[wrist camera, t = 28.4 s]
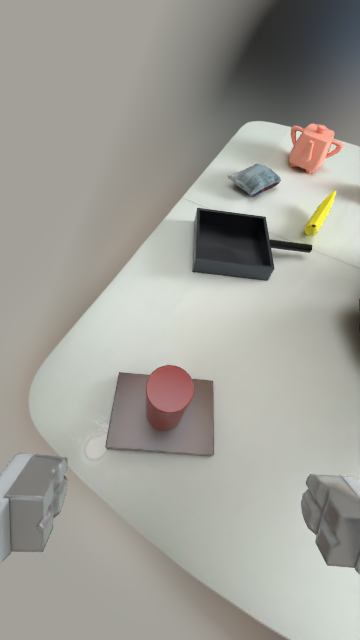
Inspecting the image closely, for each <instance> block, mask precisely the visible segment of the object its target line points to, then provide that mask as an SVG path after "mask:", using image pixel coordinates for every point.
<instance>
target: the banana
mask: <svg viewBox="0 0 360 640" xmlns="http://www.w3.org/2000/svg"><path fill="white" fill-rule="evenodd" d="M335 194H336V191H334V192H332V193H331V194H330V195H329V196H328V197H327V198H326V199H325V200H324V201H323V202H322V203H321V204H320V205H319V207H318V208H317V210H316V211H315V213H314V214H313V216H312V218H311V219H310V221H309V222H308V224H307V225H306V227H305V231H304V232H305V233H306V234H307V235H311V236H313V235H315V234H316V233H317V232H318V230H319V229H320V227H321V225H322V224H323V222H324V220H325V218H326V217H327V215H328V213H329V211H330V209H331V206H332V203H333V200H334V197H335Z"/></svg>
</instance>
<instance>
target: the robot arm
mask: <svg viewBox="0 0 360 640" xmlns="http://www.w3.org/2000/svg"><path fill="white" fill-rule="evenodd" d="M67 468H68V459H67V458H66V457H60V456H49V455H38V454H35V455H34V454H24V453H19V454H17V455H16V456H14V457H13V459H12V460H11V461H10V463H9V464H8V465H7V466H6V468H5V469H4V470H3V472H2V473H1V474H0V563H1V562H3V561H4V560H5V559H6V558H7V557H8V556H9V555H10V554H11V551H16V552H17V551H18V552H19V551H20V552H21V551H22V552H43V550H44V548H45V546H46V543H47V541H48V539H49V536H50V534H51V532H52V529H53V518H54V517H55V516H57V515H58V514H59V513H60V511H61V508H62V506H63V503H64V499H65V496H66V490H67V478H66V477H65V475H64V474H65V472H66V470H67ZM306 485H307V487H308V490H307V491H306V492H305V493H304V494H303V496H302V500H301V509H302V514H303V518H304V520H305V523H306V525H307V527H308V528H309V529H310V530H311V531H312V532H313V533H315V534H316V541H315V542H316V544H317V546H318V548H319V550H320V552H321V554H322V556H323V558H324V560H325V562H326V564H327V565H328V566H340V567H352V568H355V570H356V571H357V572H358V573H359V574H360V481H359V480H358V479H357V478H355V477H354V476H334V475H317V474H310V475H309V476H308V477H307V481H306Z"/></svg>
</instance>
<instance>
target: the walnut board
mask: <svg viewBox="0 0 360 640" xmlns="http://www.w3.org/2000/svg"><path fill="white" fill-rule="evenodd" d="M149 376H150V375H142V374H131V373H120V372H119V376H118V382H117V387H116V392H115V398H114V403H113V409H112V414H111V420H110V425H109V431H108V436H107V441H106V448H107V449H121V450H134V451H148V452H162V453H175V454H189V455H202V456H213V455H214V418H213V381H208V380H197V379H192V381H193V385H194V394H193V398H192V400H191V402H190V404H189V405H188V407H187V409H186V411H185V413H184V414H183V416H182V418H181V420H180V422H179V423H178V425H177V426H176V427H174V428H173V429H171V430H168V431H160V430H157V429H155V428H153V427H152V426H151V425H150V424H149V422H148V420H147V417H146V383H147V380H148V378H149Z"/></svg>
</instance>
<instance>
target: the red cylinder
mask: <svg viewBox="0 0 360 640" xmlns="http://www.w3.org/2000/svg"><path fill="white" fill-rule="evenodd" d="M193 394H194V385H193V381H192V379H191V377H190V376H189V374H188V373H187V372H186V371H185V370H183V369H182V368H180V367H177V366H172V365H167V366H162V367H160V368H158V369H156V370H155V371H154V372H152V374H151V375H150V376H149V378H148V380H147V383H146V417H147V420H148V422H149V424H150V425H151V426H152V427H153V428H155V429H157V430H160V431H168V430H171V429H173V428H174V427H176V426H177V425H178V423H179V422H180V420H181V418H182V416H183V414H184V413H185V411H186V409H187V407H188V405H189V404H190V402H191V400H192V398H193Z"/></svg>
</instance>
